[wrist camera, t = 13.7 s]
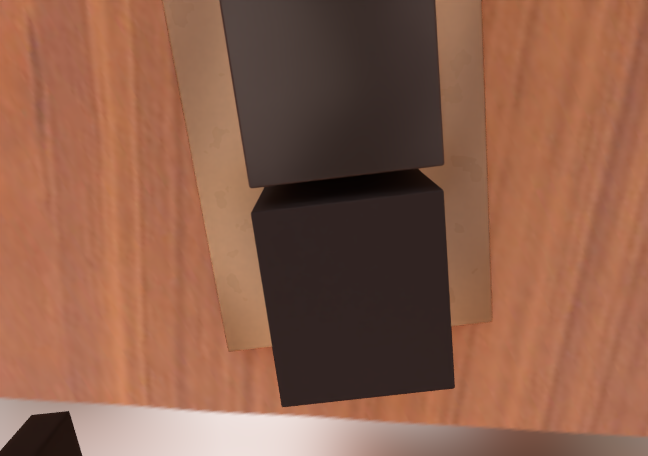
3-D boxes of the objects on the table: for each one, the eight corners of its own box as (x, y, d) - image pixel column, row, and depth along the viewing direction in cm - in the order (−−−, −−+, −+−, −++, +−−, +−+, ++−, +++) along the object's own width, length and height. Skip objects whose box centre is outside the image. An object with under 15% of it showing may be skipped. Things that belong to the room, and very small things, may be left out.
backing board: (470, -67, 20) (543, -140, 13) (484, 311, 24) (545, 393, 18) (164, -27, 20) (91, -80, 14) (232, 339, 24) (201, 431, 18)
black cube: (412, 163, 21) (443, 189, 16) (423, 318, 23) (455, 389, 18) (267, 180, 21) (250, 212, 16) (290, 333, 23) (281, 408, 18)
